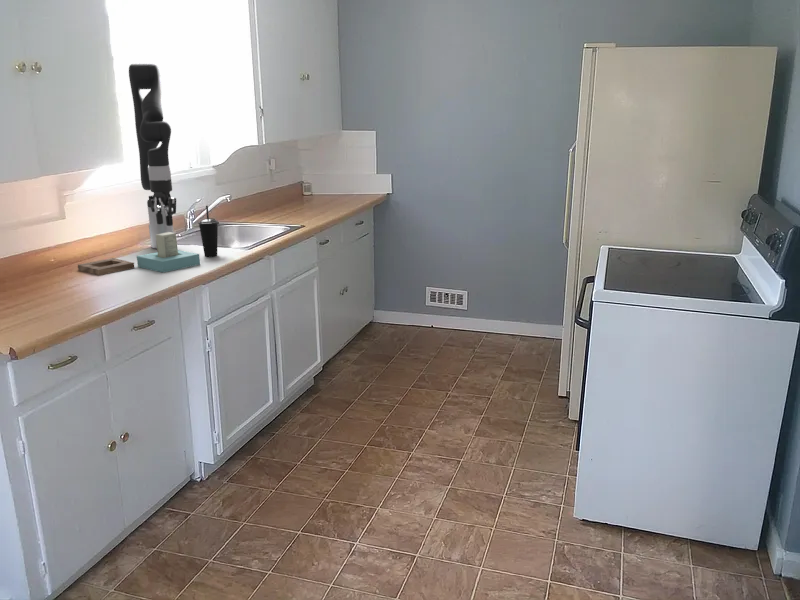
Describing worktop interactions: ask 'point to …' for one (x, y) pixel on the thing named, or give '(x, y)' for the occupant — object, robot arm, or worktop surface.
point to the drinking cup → (209, 235)
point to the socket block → (168, 261)
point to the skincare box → (166, 244)
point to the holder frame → (105, 266)
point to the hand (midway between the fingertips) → (164, 224)
